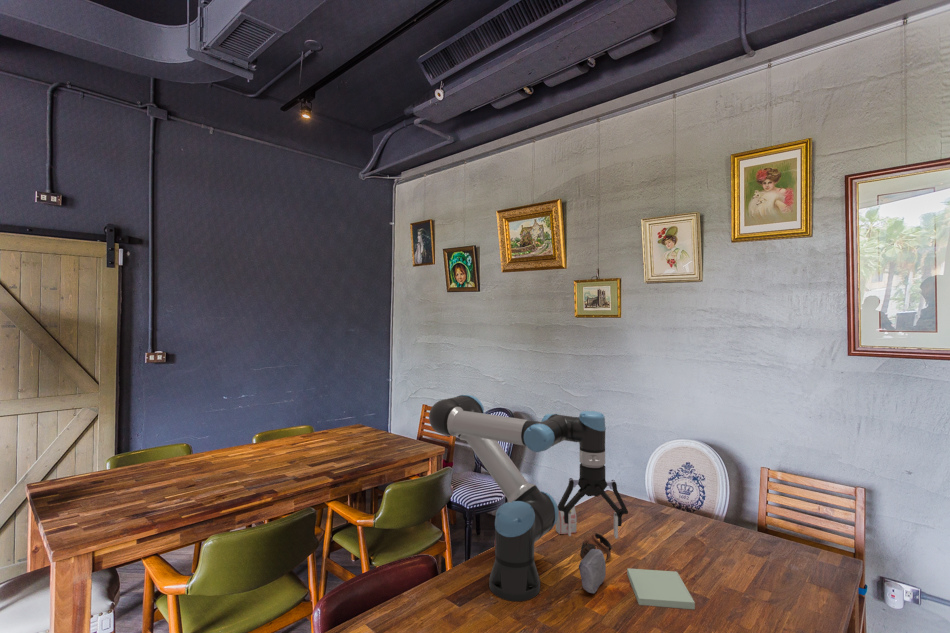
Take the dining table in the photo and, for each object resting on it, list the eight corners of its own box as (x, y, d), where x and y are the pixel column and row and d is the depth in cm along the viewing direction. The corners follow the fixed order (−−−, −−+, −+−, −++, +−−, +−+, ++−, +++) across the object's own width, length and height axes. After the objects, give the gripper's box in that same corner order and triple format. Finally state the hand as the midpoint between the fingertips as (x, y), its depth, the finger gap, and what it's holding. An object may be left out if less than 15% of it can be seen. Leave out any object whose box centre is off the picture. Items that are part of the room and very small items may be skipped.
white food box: (555, 530, 177) (555, 504, 177) (571, 528, 179) (571, 502, 179) (560, 535, 174) (560, 508, 174) (576, 532, 176) (576, 506, 176)
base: (638, 605, 131) (638, 598, 131) (627, 574, 147) (627, 568, 147) (694, 609, 129) (694, 602, 129) (677, 578, 145) (677, 571, 145)
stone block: (591, 576, 145) (591, 544, 146) (606, 581, 143) (606, 549, 143) (576, 595, 136) (576, 560, 136) (592, 600, 133) (592, 565, 133)
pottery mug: (584, 547, 164) (596, 528, 164) (606, 568, 159) (618, 548, 158) (570, 553, 155) (582, 533, 154) (592, 575, 149) (606, 554, 148)
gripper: (550, 466, 137) (550, 538, 137) (638, 469, 134) (638, 543, 134) (549, 458, 145) (549, 527, 145) (632, 461, 142) (632, 531, 142)
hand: (592, 535), depth 139 cm, fingers open, 13 cm apart
